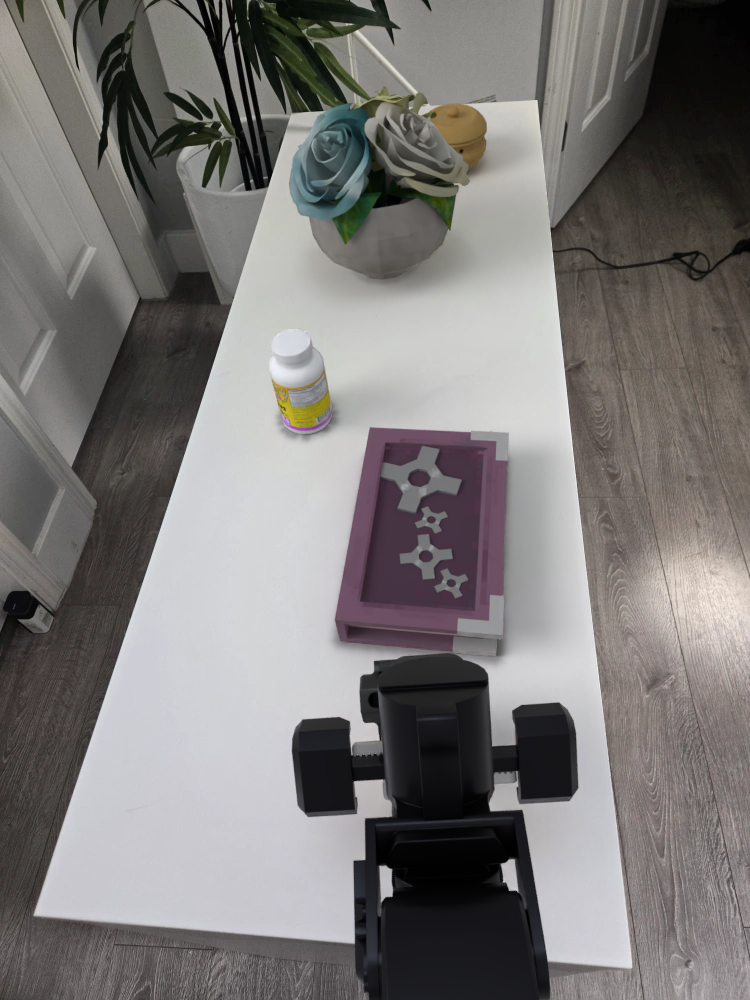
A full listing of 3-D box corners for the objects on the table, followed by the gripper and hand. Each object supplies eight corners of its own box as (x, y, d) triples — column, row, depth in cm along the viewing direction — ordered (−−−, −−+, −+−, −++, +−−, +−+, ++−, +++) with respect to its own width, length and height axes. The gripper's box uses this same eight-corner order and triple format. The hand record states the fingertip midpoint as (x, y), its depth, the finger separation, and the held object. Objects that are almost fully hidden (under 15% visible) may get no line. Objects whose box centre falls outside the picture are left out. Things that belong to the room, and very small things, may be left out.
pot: (429, 189, 121) (428, 130, 113) (411, 155, 128) (409, 98, 120) (494, 175, 122) (498, 116, 114) (473, 143, 129) (475, 85, 121)
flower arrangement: (470, 311, 102) (477, 142, 82) (298, 319, 104) (264, 155, 84) (461, 213, 116) (465, 49, 97) (311, 221, 118) (285, 62, 99)
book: (499, 657, 71) (503, 635, 66) (340, 642, 73) (334, 620, 69) (505, 460, 85) (508, 432, 81) (372, 453, 87) (369, 425, 83)
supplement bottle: (281, 402, 94) (262, 326, 83) (331, 395, 94) (317, 318, 84) (283, 440, 90) (262, 365, 80) (335, 433, 90) (321, 357, 80)
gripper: (600, 681, 39) (541, 599, 55) (265, 703, 40) (301, 616, 55) (606, 864, 41) (548, 734, 56) (285, 882, 42) (314, 749, 57)
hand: (427, 706), depth 56 cm, fingers closed
